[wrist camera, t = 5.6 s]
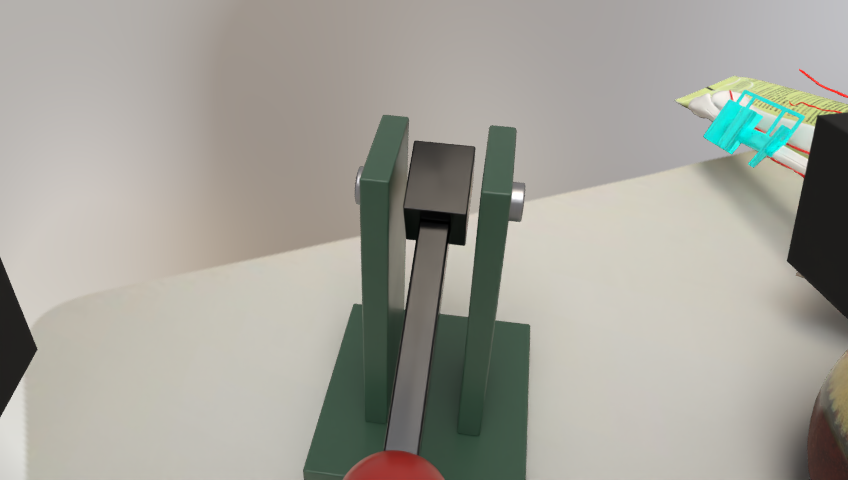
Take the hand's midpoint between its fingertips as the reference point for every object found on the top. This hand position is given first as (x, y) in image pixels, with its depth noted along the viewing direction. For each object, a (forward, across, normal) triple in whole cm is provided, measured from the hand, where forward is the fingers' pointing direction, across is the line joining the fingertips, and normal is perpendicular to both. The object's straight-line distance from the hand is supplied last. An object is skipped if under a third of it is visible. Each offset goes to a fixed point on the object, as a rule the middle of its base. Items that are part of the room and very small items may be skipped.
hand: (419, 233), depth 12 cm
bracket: (+16, +1, -18) cm, 24 cm away
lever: (+10, 0, -11) cm, 15 cm away
